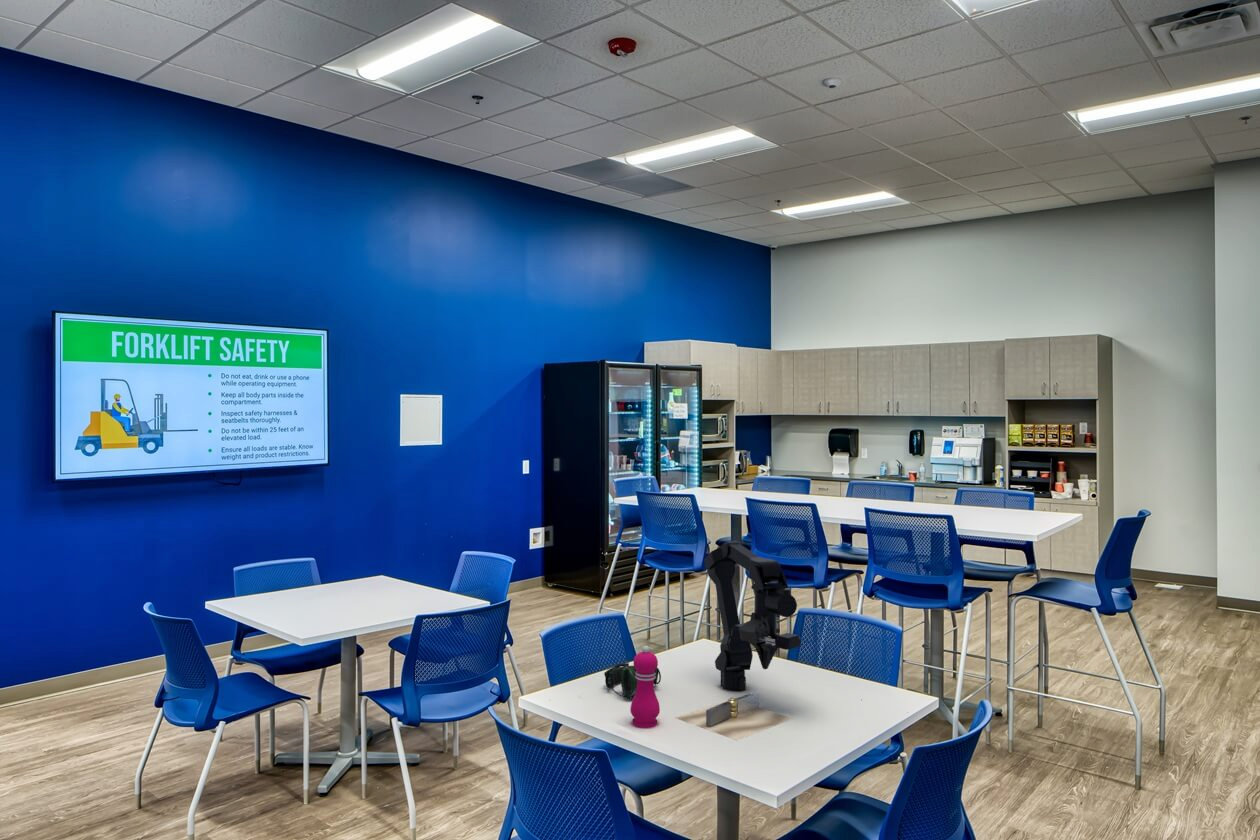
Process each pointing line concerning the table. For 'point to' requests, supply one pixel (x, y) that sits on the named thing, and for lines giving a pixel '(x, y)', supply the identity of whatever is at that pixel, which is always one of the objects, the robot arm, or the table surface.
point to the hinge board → (736, 722)
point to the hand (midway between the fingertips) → (765, 668)
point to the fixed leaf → (745, 704)
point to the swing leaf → (719, 713)
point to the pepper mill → (645, 691)
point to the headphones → (625, 679)
